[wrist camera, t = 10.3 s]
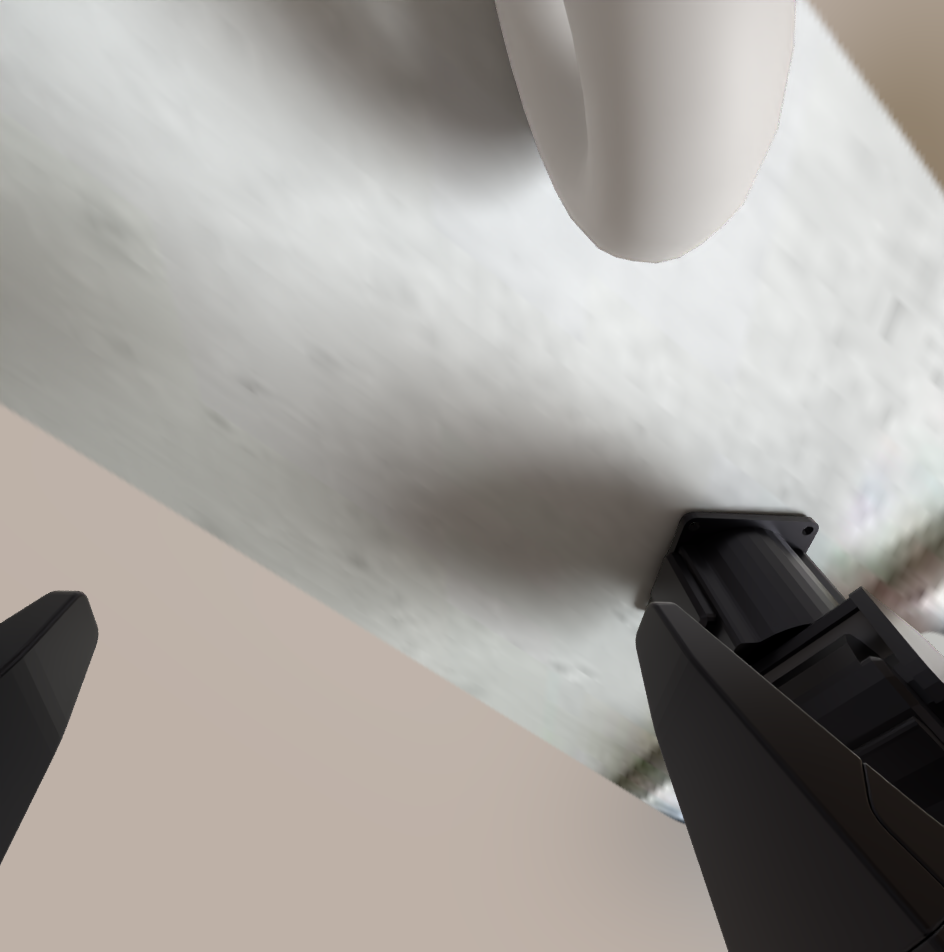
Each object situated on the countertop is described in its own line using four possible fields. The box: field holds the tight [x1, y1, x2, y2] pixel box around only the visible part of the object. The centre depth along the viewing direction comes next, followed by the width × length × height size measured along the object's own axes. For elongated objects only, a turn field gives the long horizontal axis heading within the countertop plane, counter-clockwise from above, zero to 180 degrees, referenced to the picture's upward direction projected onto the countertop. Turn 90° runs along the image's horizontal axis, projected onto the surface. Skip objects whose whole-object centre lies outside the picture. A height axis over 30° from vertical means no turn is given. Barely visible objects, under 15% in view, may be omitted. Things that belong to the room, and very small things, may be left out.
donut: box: [494, 0, 796, 263], centre depth 12 cm, size 10×4×10 cm, turn 21°
